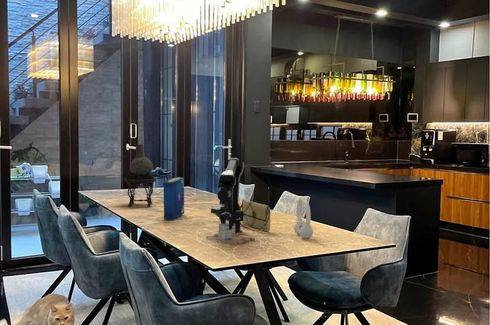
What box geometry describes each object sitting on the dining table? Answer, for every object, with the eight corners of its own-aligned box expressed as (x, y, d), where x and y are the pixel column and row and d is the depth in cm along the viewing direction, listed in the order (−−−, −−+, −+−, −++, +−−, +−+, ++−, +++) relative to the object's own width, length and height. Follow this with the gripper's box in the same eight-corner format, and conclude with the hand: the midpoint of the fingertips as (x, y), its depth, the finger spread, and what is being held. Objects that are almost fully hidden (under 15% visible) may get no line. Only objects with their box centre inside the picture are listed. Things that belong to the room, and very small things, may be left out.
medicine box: (224, 242, 238) (224, 225, 238) (218, 240, 241) (218, 224, 241) (235, 239, 244) (235, 223, 243) (229, 238, 247) (229, 221, 246)
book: (173, 220, 292) (173, 180, 290) (162, 220, 294) (162, 180, 292) (184, 214, 313) (184, 177, 312) (174, 214, 315) (174, 176, 313)
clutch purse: (234, 224, 283) (234, 199, 282) (244, 223, 287) (244, 199, 286) (262, 234, 258) (262, 207, 257) (272, 233, 262) (273, 206, 261)
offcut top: (242, 239, 240) (242, 235, 240) (249, 240, 237) (249, 236, 237) (232, 241, 235) (232, 237, 235) (239, 243, 232) (239, 239, 232)
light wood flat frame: (225, 235, 253) (225, 231, 253) (254, 242, 239) (255, 238, 239) (206, 239, 243) (206, 236, 243) (235, 247, 229) (235, 243, 229)
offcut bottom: (241, 242, 240) (241, 238, 240) (249, 244, 237) (249, 240, 237) (232, 245, 235) (232, 241, 235) (239, 247, 232) (239, 243, 232)
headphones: (304, 232, 262) (305, 197, 261) (314, 240, 244) (315, 202, 243) (292, 233, 261) (293, 197, 260) (301, 241, 243) (302, 202, 242)
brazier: (149, 208, 338) (149, 145, 335) (119, 206, 341) (119, 144, 338) (160, 203, 360) (160, 144, 357) (132, 202, 364) (131, 143, 360)
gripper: (203, 198, 242) (202, 228, 243) (229, 202, 229) (228, 234, 230) (218, 195, 250) (218, 225, 251) (244, 199, 237) (244, 230, 238)
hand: (226, 228), depth 242 cm, fingers open, 4 cm apart
